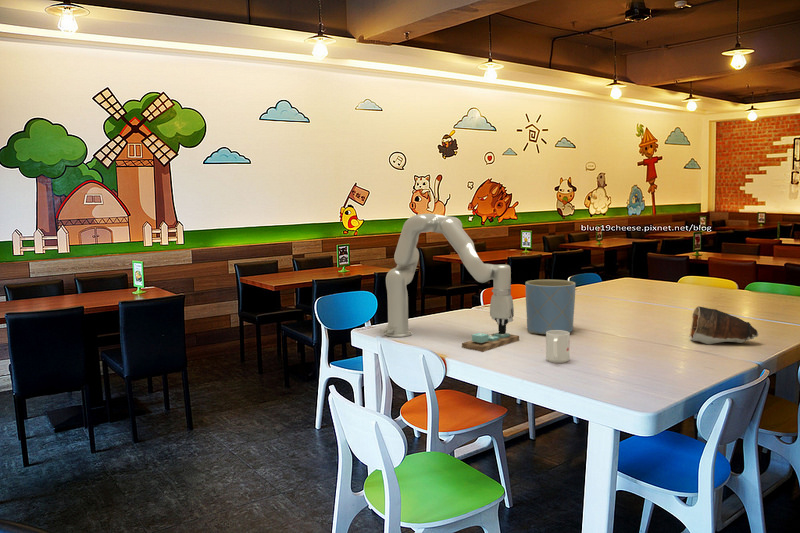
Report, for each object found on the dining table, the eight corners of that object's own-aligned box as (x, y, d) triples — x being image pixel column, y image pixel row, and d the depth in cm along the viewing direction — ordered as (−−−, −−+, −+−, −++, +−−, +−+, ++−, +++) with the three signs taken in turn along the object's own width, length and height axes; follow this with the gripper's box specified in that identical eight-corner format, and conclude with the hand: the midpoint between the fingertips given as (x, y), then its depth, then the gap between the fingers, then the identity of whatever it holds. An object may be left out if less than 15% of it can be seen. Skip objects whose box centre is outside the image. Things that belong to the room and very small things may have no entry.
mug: (547, 356, 240) (547, 329, 238) (570, 358, 236) (571, 330, 235) (542, 364, 229) (543, 335, 227) (566, 366, 225) (567, 337, 224)
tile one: (481, 343, 253) (481, 336, 253) (471, 341, 256) (471, 334, 256) (488, 340, 256) (488, 334, 256) (478, 339, 260) (478, 332, 260)
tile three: (503, 341, 264) (503, 335, 264) (493, 340, 268) (493, 333, 268) (509, 339, 268) (509, 333, 268) (500, 338, 272) (500, 331, 271)
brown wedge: (767, 320, 245) (700, 306, 252) (758, 356, 246) (692, 341, 253) (756, 317, 259) (694, 304, 266) (748, 352, 260) (686, 338, 267)
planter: (534, 325, 299) (534, 278, 297) (580, 329, 288) (581, 280, 285) (518, 334, 280) (518, 284, 277) (567, 339, 268) (567, 287, 266)
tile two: (492, 345, 259) (492, 338, 258) (483, 343, 262) (483, 336, 262) (499, 343, 262) (499, 336, 262) (489, 341, 266) (489, 334, 266)
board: (482, 351, 249) (482, 347, 249) (461, 347, 257) (461, 343, 256) (519, 340, 268) (519, 335, 268) (498, 336, 276) (498, 332, 276)
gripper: (483, 292, 268) (483, 332, 270) (511, 295, 258) (511, 337, 260) (493, 290, 273) (493, 329, 275) (521, 293, 263) (521, 334, 265)
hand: (502, 333), depth 268 cm, fingers closed
